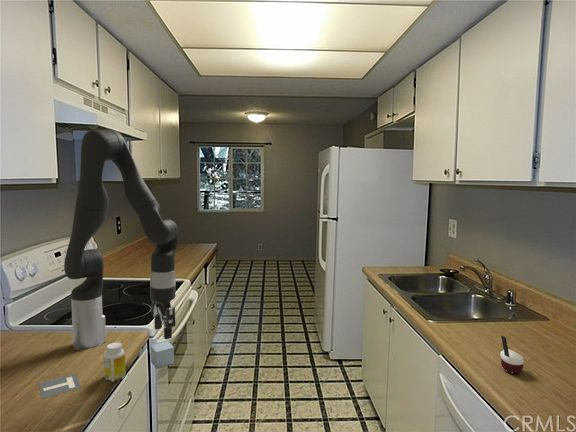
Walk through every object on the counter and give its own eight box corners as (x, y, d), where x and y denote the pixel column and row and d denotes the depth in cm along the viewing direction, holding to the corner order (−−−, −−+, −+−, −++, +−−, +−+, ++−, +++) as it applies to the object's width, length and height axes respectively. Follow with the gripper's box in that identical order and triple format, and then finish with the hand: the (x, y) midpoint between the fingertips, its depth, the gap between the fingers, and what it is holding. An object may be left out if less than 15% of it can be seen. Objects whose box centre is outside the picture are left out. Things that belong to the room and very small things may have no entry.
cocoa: (518, 367, 123) (522, 332, 122) (530, 377, 117) (535, 339, 116) (489, 365, 123) (493, 330, 122) (499, 375, 117) (504, 337, 116)
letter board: (39, 385, 105) (39, 383, 105) (75, 376, 111) (75, 373, 111) (42, 401, 98) (41, 398, 98) (81, 390, 103) (80, 387, 103)
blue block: (150, 361, 120) (150, 345, 120) (167, 357, 124) (167, 341, 123) (156, 369, 116) (156, 352, 115) (174, 364, 119) (173, 347, 119)
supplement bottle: (128, 373, 113) (127, 341, 112) (121, 384, 107) (121, 349, 106) (108, 374, 112) (107, 341, 111) (101, 384, 107) (100, 350, 106)
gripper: (183, 288, 114) (183, 339, 116) (166, 276, 125) (166, 323, 127) (159, 292, 110) (159, 345, 112) (143, 279, 121) (143, 328, 123)
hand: (162, 333), depth 120 cm, fingers open, 8 cm apart
